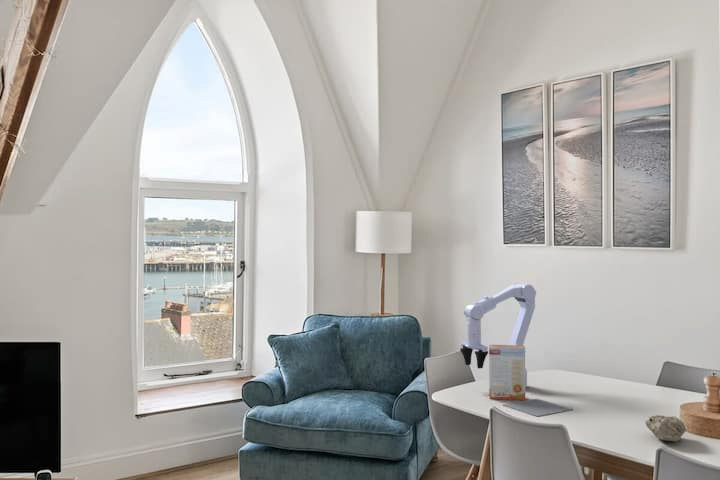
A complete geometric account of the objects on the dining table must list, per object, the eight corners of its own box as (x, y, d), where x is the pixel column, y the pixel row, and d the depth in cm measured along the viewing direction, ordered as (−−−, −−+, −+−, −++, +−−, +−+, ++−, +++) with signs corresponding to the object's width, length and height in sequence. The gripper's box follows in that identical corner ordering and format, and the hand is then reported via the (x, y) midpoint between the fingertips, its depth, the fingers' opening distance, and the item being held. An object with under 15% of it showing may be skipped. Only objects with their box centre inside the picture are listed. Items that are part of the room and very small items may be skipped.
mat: (537, 399, 264) (537, 398, 264) (573, 409, 249) (573, 409, 249) (502, 405, 255) (502, 404, 255) (537, 416, 240) (537, 415, 240)
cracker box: (524, 397, 268) (524, 344, 267) (525, 401, 262) (525, 347, 262) (489, 395, 271) (489, 343, 270) (488, 399, 265) (489, 346, 264)
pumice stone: (688, 450, 204) (688, 423, 203) (646, 445, 208) (646, 419, 208) (684, 436, 216) (684, 412, 216) (644, 432, 221) (644, 408, 221)
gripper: (455, 332, 282) (455, 364, 282) (478, 337, 269) (478, 370, 270) (468, 330, 285) (468, 362, 286) (491, 335, 273) (491, 368, 273)
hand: (474, 366), depth 278 cm, fingers open, 7 cm apart
